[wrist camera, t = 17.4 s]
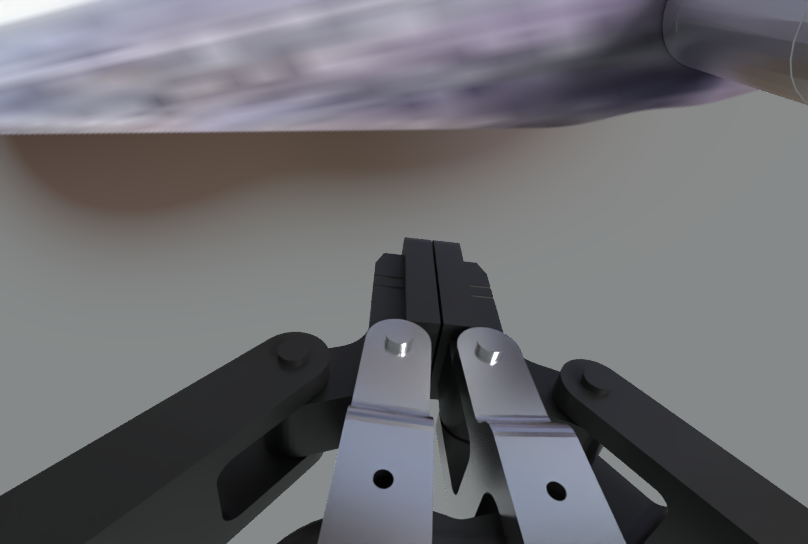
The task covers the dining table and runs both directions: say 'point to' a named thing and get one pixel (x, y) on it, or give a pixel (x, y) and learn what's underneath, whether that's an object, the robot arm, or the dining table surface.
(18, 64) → the dining table surface
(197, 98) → the dining table surface
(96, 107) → the dining table surface
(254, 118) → the dining table surface
